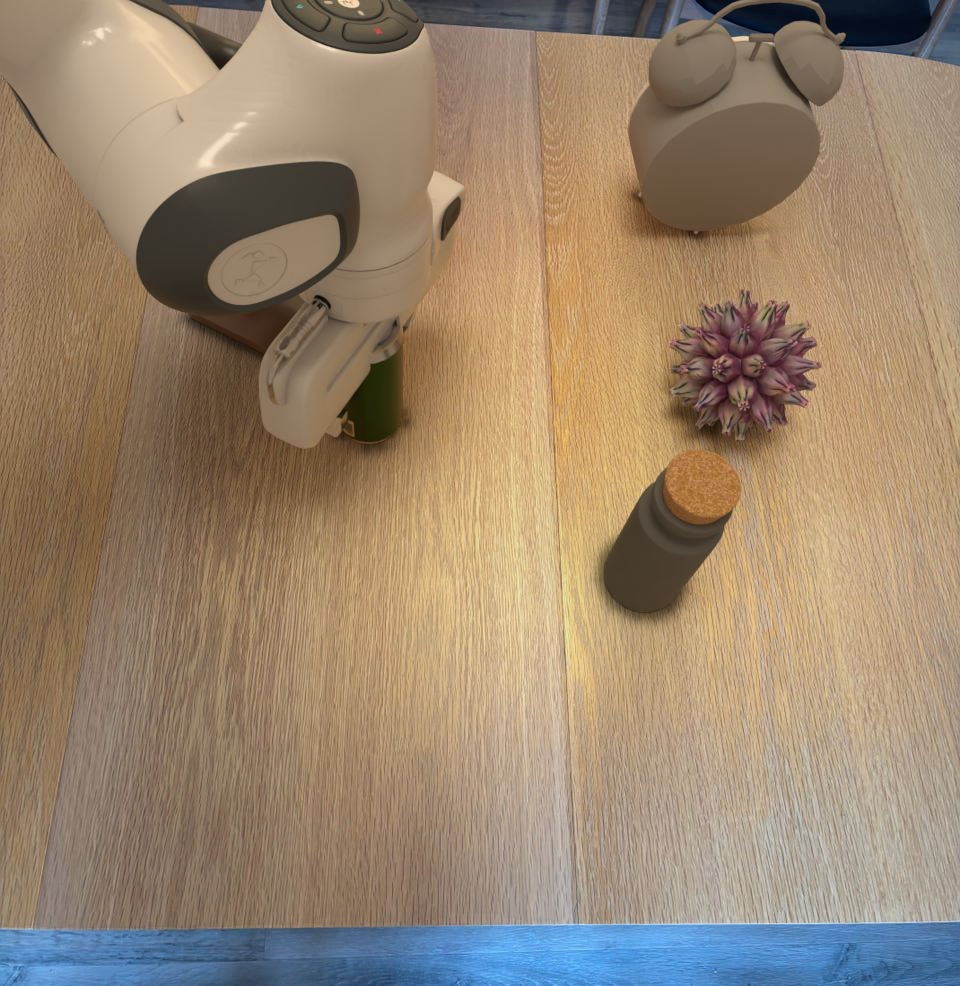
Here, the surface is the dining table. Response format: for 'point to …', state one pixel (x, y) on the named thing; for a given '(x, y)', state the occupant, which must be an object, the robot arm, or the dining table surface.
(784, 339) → the flower
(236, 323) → the holder base
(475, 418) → the dining table surface
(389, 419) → the beer can
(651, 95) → the alarm clock
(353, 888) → the dining table surface
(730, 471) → the bottle
